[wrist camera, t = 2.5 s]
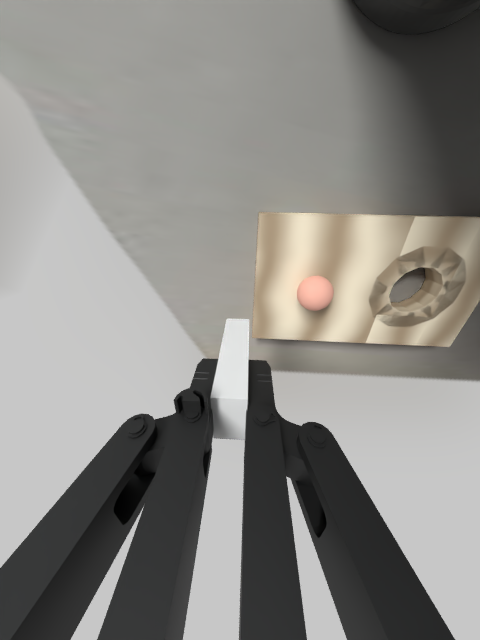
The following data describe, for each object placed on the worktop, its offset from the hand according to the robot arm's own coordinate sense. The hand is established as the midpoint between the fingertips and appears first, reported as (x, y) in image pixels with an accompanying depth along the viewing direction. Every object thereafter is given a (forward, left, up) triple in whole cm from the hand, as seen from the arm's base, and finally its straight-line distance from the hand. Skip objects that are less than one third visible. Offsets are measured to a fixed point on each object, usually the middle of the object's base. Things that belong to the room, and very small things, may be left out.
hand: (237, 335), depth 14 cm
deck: (-10, +9, -12) cm, 18 cm away
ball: (-5, +5, -8) cm, 11 cm away
